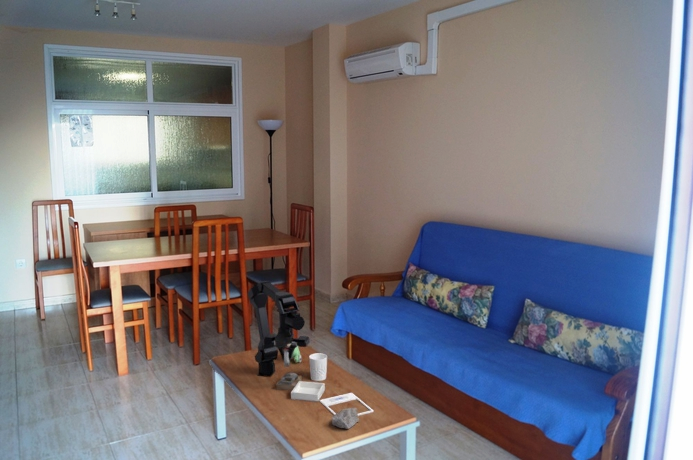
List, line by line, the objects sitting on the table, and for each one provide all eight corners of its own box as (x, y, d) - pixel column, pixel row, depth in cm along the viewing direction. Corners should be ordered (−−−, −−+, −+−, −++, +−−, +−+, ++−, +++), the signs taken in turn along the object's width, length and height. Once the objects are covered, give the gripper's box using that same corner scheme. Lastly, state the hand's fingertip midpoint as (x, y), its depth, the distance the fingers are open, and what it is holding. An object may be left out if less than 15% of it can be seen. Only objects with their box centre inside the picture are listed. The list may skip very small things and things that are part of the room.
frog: (281, 355, 259) (300, 357, 259) (285, 336, 266) (304, 338, 266) (281, 367, 268) (300, 369, 268) (285, 349, 275) (303, 351, 275)
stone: (328, 425, 207) (328, 410, 206) (347, 416, 213) (347, 402, 213) (343, 433, 201) (343, 417, 200) (362, 423, 208) (362, 408, 207)
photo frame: (351, 392, 232) (373, 410, 217) (351, 394, 232) (373, 412, 217) (319, 399, 226) (339, 418, 210) (319, 402, 226) (339, 421, 210)
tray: (291, 399, 227) (290, 392, 227) (299, 387, 238) (299, 381, 238) (317, 401, 225) (317, 394, 225) (324, 390, 236) (324, 383, 235)
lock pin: (282, 366, 235) (281, 348, 234) (284, 363, 239) (284, 345, 237) (289, 367, 235) (289, 348, 234) (291, 364, 238) (291, 346, 237)
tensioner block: (284, 379, 247) (284, 370, 246) (301, 381, 245) (301, 372, 244) (276, 389, 237) (276, 380, 236) (294, 391, 235) (294, 382, 234)
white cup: (328, 374, 252) (328, 353, 250) (326, 382, 244) (325, 360, 242) (311, 374, 252) (310, 352, 251) (308, 381, 245) (307, 359, 243)
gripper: (257, 328, 228) (259, 365, 231) (302, 331, 224) (302, 368, 227) (267, 320, 239) (268, 355, 241) (309, 323, 235) (310, 358, 237)
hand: (286, 359), depth 236 cm, fingers closed on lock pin, 2 cm apart
